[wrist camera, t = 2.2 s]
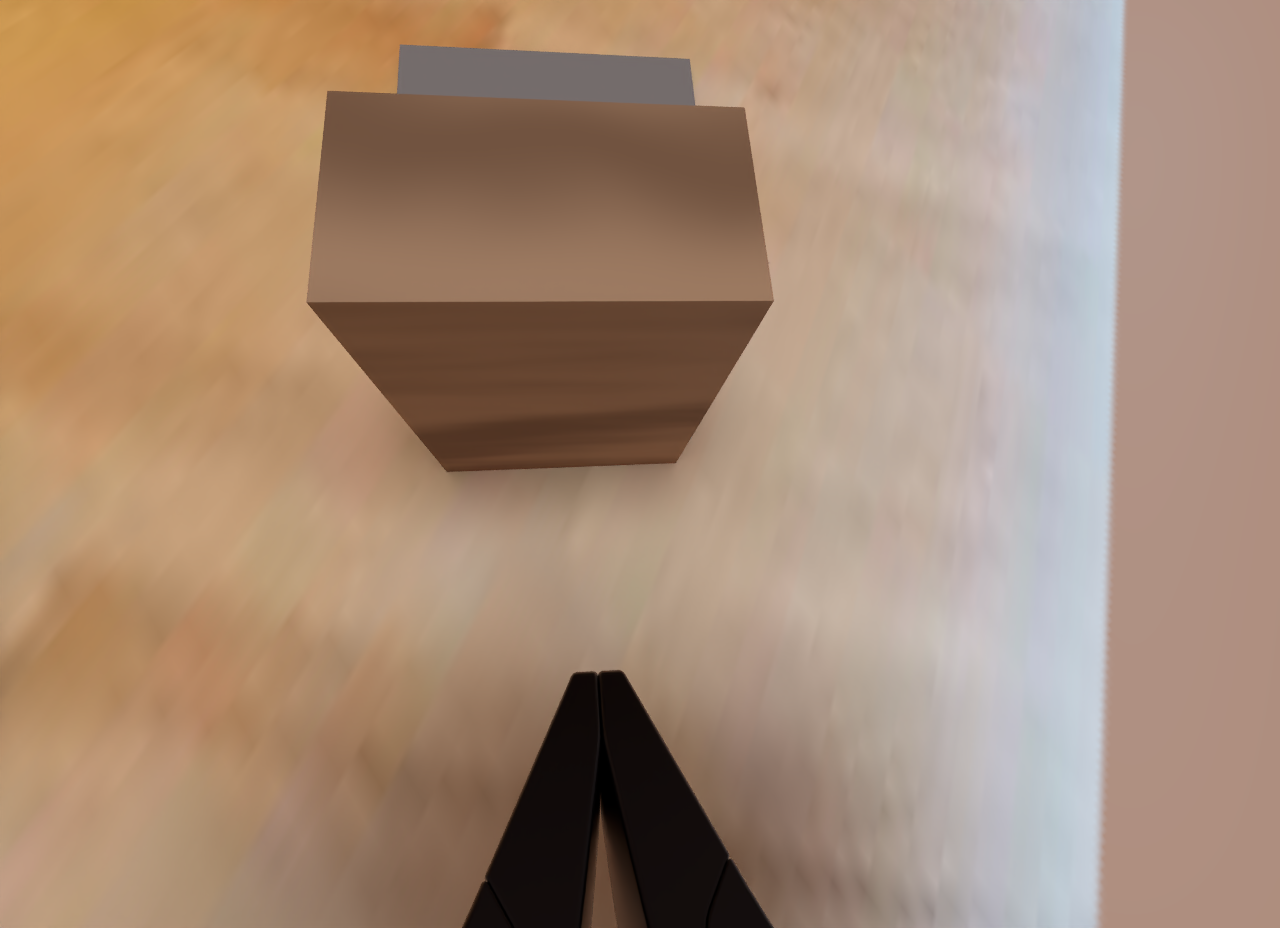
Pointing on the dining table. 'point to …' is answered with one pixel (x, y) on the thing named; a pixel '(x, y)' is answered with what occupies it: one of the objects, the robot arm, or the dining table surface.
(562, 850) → the robot arm
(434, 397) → the walnut block
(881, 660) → the dining table surface
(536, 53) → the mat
